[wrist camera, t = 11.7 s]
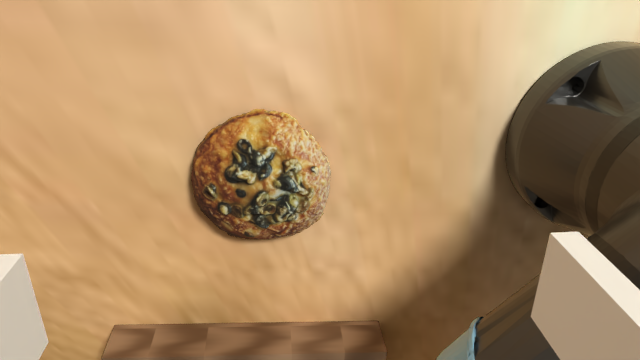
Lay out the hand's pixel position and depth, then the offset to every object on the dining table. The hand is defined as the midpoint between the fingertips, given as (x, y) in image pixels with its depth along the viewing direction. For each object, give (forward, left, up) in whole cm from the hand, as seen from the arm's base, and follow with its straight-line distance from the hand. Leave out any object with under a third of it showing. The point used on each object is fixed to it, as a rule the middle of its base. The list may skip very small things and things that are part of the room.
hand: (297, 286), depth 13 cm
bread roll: (+1, +9, -27) cm, 28 cm away
